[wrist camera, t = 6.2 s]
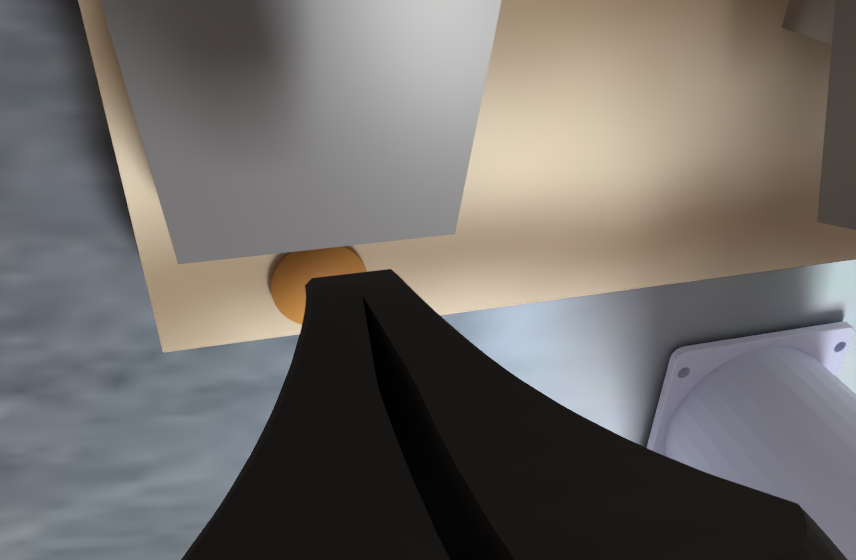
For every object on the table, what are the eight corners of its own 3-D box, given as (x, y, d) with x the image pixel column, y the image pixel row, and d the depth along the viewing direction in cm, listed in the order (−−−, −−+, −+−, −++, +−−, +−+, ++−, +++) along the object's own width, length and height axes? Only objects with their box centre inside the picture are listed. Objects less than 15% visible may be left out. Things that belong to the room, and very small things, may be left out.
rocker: (442, 195, 16) (454, 234, 16) (177, 221, 15) (178, 264, 15) (520, -272, 9) (549, -240, 9) (34, -298, 8) (22, -262, 7)
